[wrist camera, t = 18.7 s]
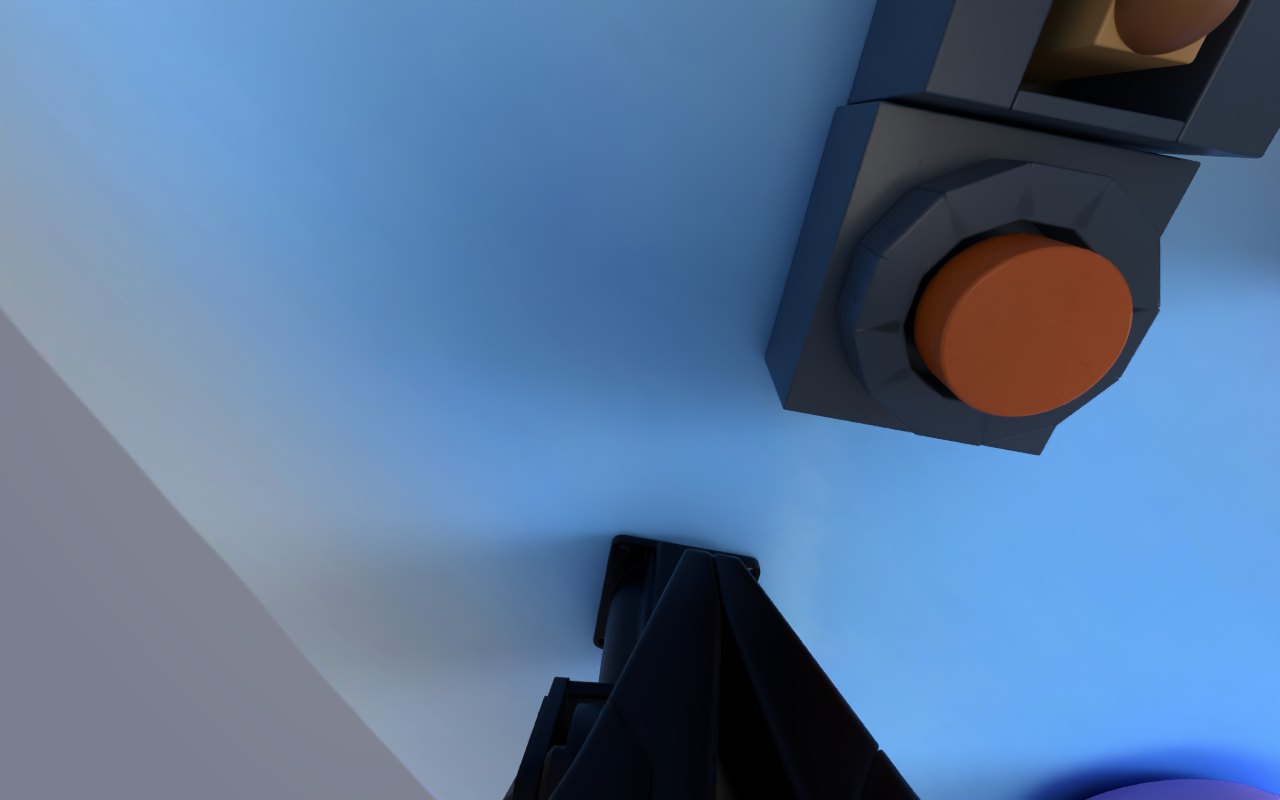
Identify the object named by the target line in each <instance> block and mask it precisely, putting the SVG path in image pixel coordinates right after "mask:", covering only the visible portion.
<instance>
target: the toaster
mask: <svg viewBox="0 0 1280 800" xmlns="http://www.w3.org/2000/svg"><path fill="white" fill-rule="evenodd" d="M1053 1H1054V0H878V1H877V4H876V8H875V11H874V15H873V18H872V21H871V25H870V28H869V32H868V35H867V39H866V42H865V45H864V49H863V52H862V56H861V59H860V63H859V66H858V69H857V73H856V76H855V80H854V83H853V87H852V90H851V93H850V97H849V100H848V104H849V105H854V104H861V103H868V102H875V101H886V102H892V103H897V104H902V105H907V106H912V107H917V108H923V109H928V110H933V111H938V112H943V113H949V114H954V115H959V116H964V117H969V118H975V119H980V120H985V121H990V122H995V123H1000V124H1006V125H1011V126H1016V127H1021V128H1026V129H1032V130H1037V131H1042V132H1047V133H1052V134H1058V135H1063V136H1068V137H1073V138H1078V139H1083V140H1089V141H1094V142H1099V143H1104V144H1109V145H1115V146H1120V147H1125V148H1130V149H1135V150H1141V151H1146V152H1151V153H1160V154H1180V155H1200V156H1220V157H1240V158H1260V157H1262V156H1263V155H1264V153H1265V151H1266V150H1267V148H1268V146H1269V144H1270V143H1271V141H1272V139H1273V138H1274V136H1275V134H1276V133H1277V131H1278V129H1279V128H1280V0H1240V1H1239V2H1238V4H1237V5H1236V7H1235V8H1234V10H1233V11H1232V12H1231V13H1230V14H1229V15H1228V17H1227V18H1226V19H1225V20H1224V21H1223V22H1222V23H1221V24H1219V25H1218V26H1217V27H1216V28H1215V29H1214V30H1213V31H1211V32H1210V33H1209V34H1207V35H1206V37H1205V39H1204V41H1203V43H1202V45H1201V47H1200V49H1199V51H1198V53H1197V55H1196V57H1195V59H1194V60H1193V62H1192V63H1190V64H1184V65H1176V66H1168V67H1161V68H1153V69H1145V70H1137V71H1129V72H1121V73H1114V74H1106V75H1098V76H1090V77H1082V78H1074V79H1067V80H1059V81H1051V82H1043V83H1035V84H1032V83H1027V82H1022V81H1021V80H1022V78H1023V75H1024V73H1025V70H1026V68H1027V65H1028V63H1029V60H1030V58H1031V55H1032V53H1033V51H1034V48H1035V46H1036V43H1037V41H1038V38H1039V36H1040V33H1041V31H1042V28H1043V26H1044V23H1045V21H1046V18H1047V16H1048V13H1049V11H1050V8H1051V6H1052V3H1053Z"/></svg>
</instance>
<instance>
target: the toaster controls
mask: <svg viewBox="0 0 1280 800" xmlns="http://www.w3.org/2000/svg"><path fill="white" fill-rule="evenodd" d="M1200 165H1201V163H1200V162H1198V161H1192V160H1187V159H1182V158H1177V157H1172V156H1166V155H1161V154H1156V153H1151V152H1146V151H1141V150H1135V149H1130V148H1125V147H1120V146H1115V145H1109V144H1104V143H1099V142H1094V141H1089V140H1083V139H1078V138H1073V137H1068V136H1063V135H1058V134H1052V133H1047V132H1042V131H1037V130H1032V129H1026V128H1021V127H1016V126H1011V125H1006V124H1000V123H995V122H990V121H985V120H980V119H975V118H969V117H964V116H959V115H954V114H949V113H943V112H938V111H933V110H928V109H923V108H917V107H912V106H907V105H902V104H897V103H892V102H886V101H875V102H868V103H861V104H854V105H847V106H839V107H837V108H836V110H835V113H834V117H833V120H832V124H831V127H830V131H829V134H828V138H827V141H826V145H825V148H824V152H823V155H822V159H821V162H820V166H819V169H818V173H817V176H816V180H815V183H814V187H813V190H812V194H811V197H810V201H809V204H808V208H807V211H806V215H805V218H804V222H803V225H802V229H801V232H800V236H799V239H798V243H797V246H796V250H795V253H794V257H793V260H792V264H791V267H790V271H789V274H788V278H787V281H786V285H785V288H784V292H783V295H782V299H781V302H780V306H779V309H778V313H777V316H776V320H775V323H774V327H773V330H772V334H771V337H770V341H769V345H768V348H767V352H766V355H765V362H766V365H767V367H768V370H769V372H770V375H771V378H772V380H773V383H774V386H775V388H776V391H777V393H778V396H779V399H780V401H781V404H782V407H783V409H785V410H790V411H796V412H801V413H807V414H812V415H818V416H824V417H829V418H835V419H840V420H846V421H851V422H857V423H862V424H868V425H873V426H879V427H884V428H890V429H895V430H901V431H906V432H912V433H914V434H916V435H921V436H927V437H932V438H938V439H943V440H949V441H954V442H960V443H965V444H971V445H977V446H980V445H984V446H989V447H995V448H1000V449H1006V450H1011V451H1017V452H1022V453H1028V454H1034V455H1040V454H1041V453H1042V451H1043V449H1044V447H1045V445H1046V444H1047V442H1048V440H1049V438H1050V436H1051V434H1052V433H1053V431H1054V429H1055V427H1056V426H1057V425H1058V424H1059V423H1061V422H1062V421H1063V420H1065V419H1066V418H1068V417H1069V416H1070V415H1072V414H1073V413H1074V412H1076V411H1077V410H1078V409H1080V408H1081V407H1082V406H1084V405H1085V404H1087V403H1088V402H1089V401H1091V400H1092V399H1093V398H1095V397H1096V396H1097V395H1099V394H1100V393H1101V392H1103V391H1104V390H1106V389H1107V388H1108V387H1110V386H1111V385H1112V384H1114V383H1115V382H1116V381H1118V380H1119V378H1120V377H1121V376H1122V374H1123V373H1124V371H1125V369H1126V368H1127V366H1128V364H1129V362H1130V361H1131V359H1132V357H1133V356H1134V354H1135V352H1136V351H1137V349H1138V347H1139V345H1140V344H1141V342H1142V340H1143V339H1144V337H1145V335H1146V333H1147V332H1148V330H1149V328H1150V327H1151V325H1152V323H1153V321H1154V320H1155V318H1156V316H1157V315H1158V313H1159V311H1160V309H1159V307H1160V237H1161V235H1162V234H1163V232H1164V230H1165V228H1166V226H1167V225H1168V223H1169V221H1170V219H1171V217H1172V215H1173V214H1174V212H1175V210H1176V208H1177V206H1178V205H1179V203H1180V201H1181V199H1182V197H1183V196H1184V194H1185V192H1186V190H1187V188H1188V187H1189V185H1190V183H1191V181H1192V179H1193V177H1194V176H1195V174H1196V172H1197V170H1198V168H1199V167H1200ZM1011 233H1027V234H1036V235H1039V236H1043V237H1047V238H1050V239H1054V240H1057V241H1060V242H1064V243H1067V244H1071V245H1074V246H1078V247H1081V248H1084V249H1088V250H1091V251H1093V252H1095V253H1097V254H1100V255H1101V256H1103V257H1104V258H1106V259H1107V260H1109V261H1110V262H1111V263H1112V264H1113V265H1114V266H1115V267H1116V268H1117V269H1118V270H1119V271H1120V273H1121V274H1122V276H1123V277H1124V279H1125V281H1126V283H1127V285H1128V287H1129V290H1130V293H1131V297H1132V305H1133V317H1132V324H1131V329H1130V333H1129V336H1128V339H1127V341H1126V344H1125V346H1124V348H1123V350H1122V352H1121V354H1120V355H1119V357H1118V358H1117V360H1116V361H1115V363H1114V364H1113V366H1112V367H1111V368H1110V369H1109V371H1108V372H1107V373H1106V374H1105V375H1104V376H1103V377H1102V378H1101V379H1100V380H1099V381H1098V382H1097V383H1096V384H1095V385H1094V386H1092V387H1091V388H1090V389H1089V390H1087V391H1086V392H1085V393H1083V394H1082V395H1080V396H1079V397H1077V398H1076V399H1074V400H1072V401H1070V402H1068V403H1066V404H1065V405H1062V406H1060V407H1058V408H1055V409H1053V410H1050V411H1046V412H1043V413H1039V414H1035V415H1030V416H1020V417H1005V416H997V415H992V414H988V413H984V412H981V411H979V410H976V409H974V408H972V407H970V406H969V405H967V404H965V403H964V402H963V401H961V400H960V399H959V398H958V397H957V396H956V395H955V394H954V393H952V392H951V391H950V390H949V389H948V388H947V387H946V386H945V385H944V384H943V383H942V382H941V381H940V380H939V379H938V378H937V377H936V376H935V375H934V374H933V373H932V372H931V371H930V370H929V369H928V368H927V367H926V366H925V364H924V363H923V361H922V360H921V358H920V356H919V354H918V351H917V348H916V345H915V340H914V319H915V314H916V309H917V306H918V303H919V300H920V298H921V296H922V294H923V292H924V290H925V288H926V287H927V285H928V283H929V282H930V280H931V279H932V278H933V277H934V275H935V274H936V273H937V272H938V271H939V270H940V269H941V268H942V266H943V265H944V264H945V263H947V262H948V261H949V260H950V259H951V258H953V257H954V256H955V255H957V254H958V253H960V252H961V251H963V250H964V249H966V248H968V247H970V246H972V245H974V244H975V243H977V242H980V241H983V240H985V239H988V238H991V237H995V236H999V235H1004V234H1011Z"/></svg>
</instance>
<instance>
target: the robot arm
mask: <svg viewBox="0 0 1280 800" xmlns="http://www.w3.org/2000/svg"><path fill="white" fill-rule="evenodd" d="M621 545H623V546H626V547H627V548H625V549H622V548H619V547H618V546H621ZM747 568H752V569H751V570H748V569H747ZM759 576H760V566H759V563H758V561H757V560H756V559H755V558H752V557H748V556H742V555H736V554H731V553H725V552H719V551H714V550H708V549H702V548H696V547H691V546H685V545H679V544H674V543H668V542H662V541H656V540H651V539H645V538H639V537H634V536H628V535H618V536H616V537H615V538H613V540H612V543H611V548H610V553H609V559H608V564H607V569H606V574H605V580H604V585H603V590H602V596H601V601H600V606H599V611H598V617H597V622H596V627H595V633H594V639H593V641H594V644H595V646H597V647H598V648H601V649H603V653H602V660H601V667H600V674H599V681H598V682H582V681H570V678H564V677H555V678H554V680H553V683H552V686H551V689H550V692H549V695H548V696H545V697H544V699H543V702H542V705H541V708H540V711H539V712H538V716H537V719H536V722H535V725H534V728H533V730H532V733H531V736H530V739H529V742H528V745H527V747H526V750H525V753H524V756H523V759H522V762H521V764H520V767H519V770H518V773H517V776H516V777H515V779H514V781H513V783H512V784H511V786H510V788H509V790H508V792H507V793H506V795H505V797H504V799H503V800H920V798H919V797H918V796H917V795H916V793H915V792H914V791H913V789H912V788H911V787H910V786H909V784H908V783H907V782H906V780H905V779H904V778H903V777H902V775H901V774H900V772H899V771H898V770H897V768H896V767H895V766H894V764H893V763H892V762H891V760H890V759H889V758H888V756H887V755H886V754H885V752H884V751H883V750H878V748H879V745H878V743H877V742H876V741H875V739H874V738H873V737H872V735H871V734H870V733H869V731H868V730H867V728H866V727H865V726H864V724H863V723H862V722H861V720H860V719H859V718H858V716H857V715H856V714H855V712H854V711H853V710H852V708H851V707H850V706H849V704H848V703H847V702H846V700H845V699H844V698H843V696H842V695H841V694H840V692H839V691H838V690H837V688H836V687H835V685H834V684H833V683H832V681H831V680H830V679H829V677H828V676H827V675H826V673H825V672H824V671H823V669H822V668H821V667H820V665H819V664H818V663H817V661H816V660H815V659H814V657H813V656H812V655H811V653H810V652H809V651H808V649H807V648H806V646H805V645H804V644H803V642H802V641H801V640H800V638H799V637H798V636H797V634H796V633H795V632H794V630H793V629H792V628H791V626H790V625H789V624H788V622H787V621H786V620H785V618H784V617H783V616H782V614H781V613H780V612H779V610H778V609H777V608H776V606H775V605H774V603H773V602H772V601H771V599H770V598H769V597H768V595H767V594H766V593H765V591H764V590H763V589H762V587H761V586H760V585H759V583H758V579H759ZM603 637H605V639H604V638H603Z"/></svg>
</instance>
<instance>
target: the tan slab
mask: <svg viewBox="0 0 1280 800" xmlns="http://www.w3.org/2000/svg"><path fill="white" fill-rule="evenodd" d="M1239 1H1240V0H1054V1H1053V3H1052V6H1051V8H1050V11H1049V13H1048V16H1047V18H1046V21H1045V23H1044V26H1043V28H1042V31H1041V33H1040V36H1039V38H1038V41H1037V43H1036V46H1035V48H1034V51H1033V53H1032V55H1031V58H1030V60H1029V63H1028V65H1027V68H1026V70H1025V73H1024V75H1023V78H1022V80H1021V81H1022V82H1027V83H1032V84H1035V83H1043V82H1051V81H1059V80H1067V79H1074V78H1082V77H1090V76H1098V75H1106V74H1114V73H1121V72H1129V71H1137V70H1145V69H1153V68H1161V67H1168V66H1176V65H1184V64H1190V63H1192V62H1193V60H1194V59H1195V57H1196V55H1197V53H1198V51H1199V49H1200V47H1201V45H1202V43H1203V41H1204V39H1205V37H1206V35H1207V34H1209V33H1210V32H1211V31H1213V30H1214V29H1215V28H1216V27H1217V26H1218V25H1219V24H1221V23H1222V22H1223V21H1224V20H1225V19H1226V18H1227V17H1228V15H1229V14H1230V13H1231V12H1232V11H1233V10H1234V8H1235V7H1236V5H1237V4H1238V2H1239Z"/></svg>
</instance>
